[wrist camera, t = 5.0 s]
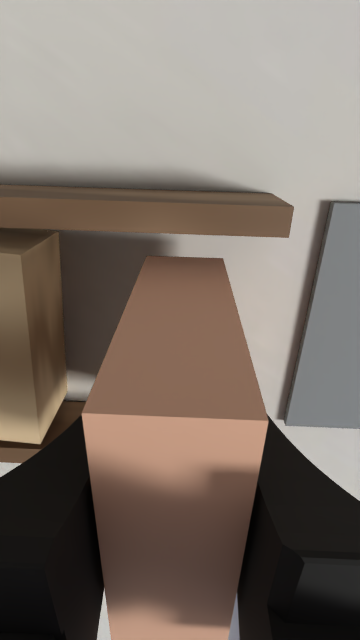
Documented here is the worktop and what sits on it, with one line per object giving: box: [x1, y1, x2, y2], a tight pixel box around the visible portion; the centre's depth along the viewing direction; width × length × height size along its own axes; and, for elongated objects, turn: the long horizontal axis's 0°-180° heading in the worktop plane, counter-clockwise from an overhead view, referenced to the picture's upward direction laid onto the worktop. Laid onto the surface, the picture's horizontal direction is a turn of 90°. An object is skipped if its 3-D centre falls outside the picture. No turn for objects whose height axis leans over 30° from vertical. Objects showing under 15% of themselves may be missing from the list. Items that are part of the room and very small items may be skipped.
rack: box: [0, 185, 294, 463], centre depth 16 cm, size 12×18×4 cm
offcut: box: [0, 228, 67, 444], centre depth 16 cm, size 9×3×4 cm, turn 174°
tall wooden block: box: [82, 256, 269, 640], centre depth 11 cm, size 8×3×9 cm, turn 178°
